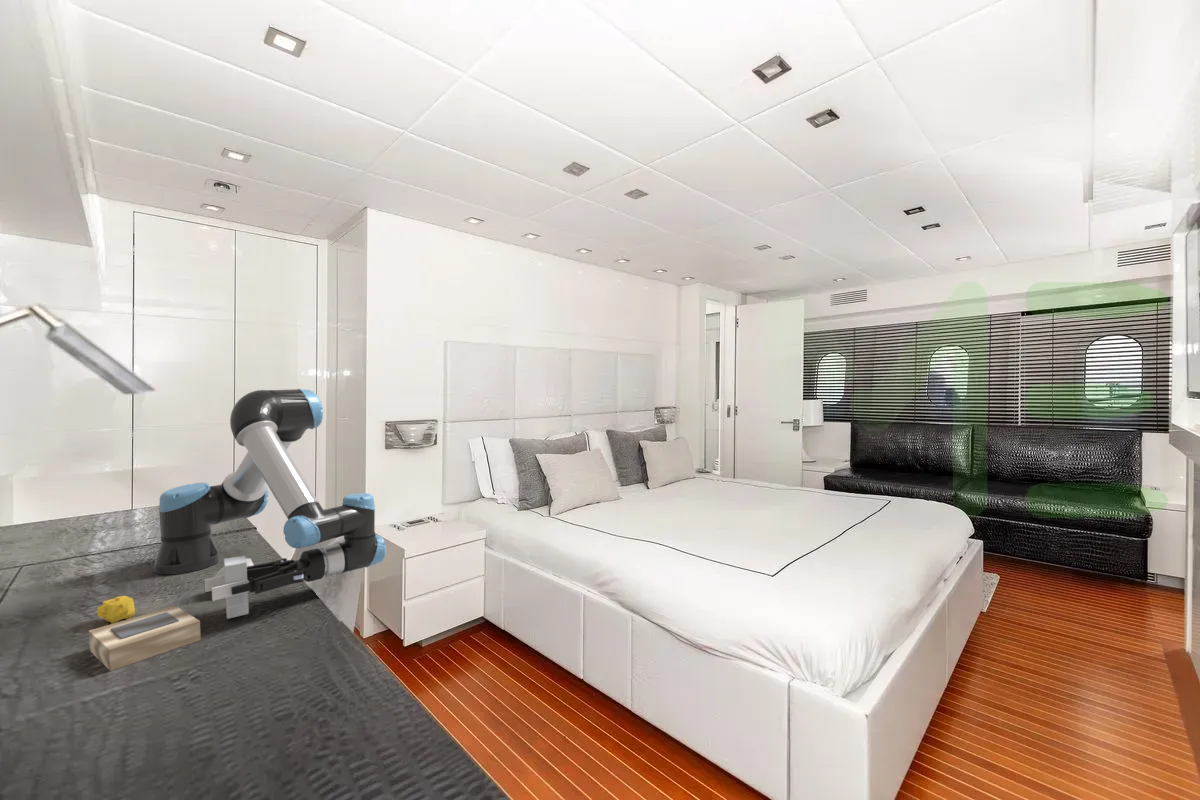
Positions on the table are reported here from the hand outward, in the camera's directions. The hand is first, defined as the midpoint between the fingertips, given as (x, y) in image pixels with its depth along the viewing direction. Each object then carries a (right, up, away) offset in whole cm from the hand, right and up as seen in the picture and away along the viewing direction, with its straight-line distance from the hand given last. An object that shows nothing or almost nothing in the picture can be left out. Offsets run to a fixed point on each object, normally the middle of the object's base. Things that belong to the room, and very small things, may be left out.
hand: (208, 589), depth 116 cm
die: (-7, -7, +20) cm, 22 cm away
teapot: (-24, -8, +3) cm, 25 cm away
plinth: (-6, -8, -9) cm, 13 cm away
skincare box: (+4, -7, +4) cm, 8 cm away
